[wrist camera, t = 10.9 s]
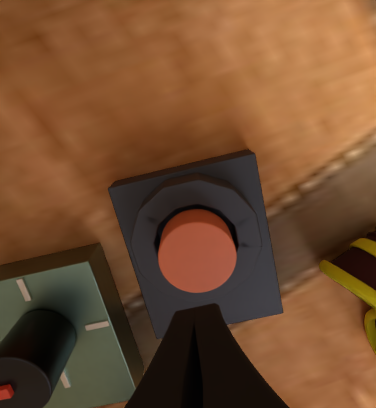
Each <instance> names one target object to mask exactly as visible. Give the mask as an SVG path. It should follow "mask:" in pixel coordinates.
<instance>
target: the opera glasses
mask: <svg viewBox="0 0 376 408" xmlns="http://www.w3.org/2000/svg"><path fill="white" fill-rule="evenodd" d="M375 228H376V227H375ZM349 248H350V249H349V250H348V251H346V252H345V253H343V254H342V255H341V256H339V257H338V258H336V259H335V260H333V261H332V262H328V261H326V260H323V261H321V262H320V263H319V268H320V270H321V271H322V272H323V273H324V274H326V275H327V276H328V277H330V278H331V279H333V280H334V281H336V282H337V283H339V284H340V285H342V286H344V287H345V288H346V289H348V290H349V291H351V292H352V293H353V294H355V295H356V296H357V297H359V298H360V299H362V300H363V301H364V302H366V303H367V304H368V305H370V306H371V307H372V308H373V309H370V310H369V311H368V312H367V313H366V315H365V318H364V327H365V331H366V334H367V338H368V340H369V343H370V345H371V347H372V349H373V351H374V352H375V354H376V232H369V233H368V234H367V238H359V239H358V240H356V241H355V242H353V243H352V244H350V245H349Z"/></svg>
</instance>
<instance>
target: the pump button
mask: <svg viewBox="0 0 376 408" xmlns="http://www.w3.org/2000/svg"><path fill="white" fill-rule="evenodd" d="M236 260H237V253H236V248H235V245H234V242H233V239H232V236H231V233H230V231H229V228H228V226H227V225H226V223H225V222H224V221H223V220H222V219H221V218H220V217H219V216H218V215H216V214H215V213H213V212H210V211H208V210H203V209H190V210H185V211H183V212H180V213H178V214H177V215H175V216H174V217H172V218H171V219H170V220H169V221H168V223H167V224H166V226H165V227H164V229H163V232H162V236H161V241H160V246H159V251H158V263H159V267H160V270H161V272H162V274H163V275H164V277H165V278H166V279H167V280H168V281H169V282H170V283H171V284H172V285H173V286H175V287H177V288H178V289H181V290H183V291H186V292H192V293H202V292H207V291H211V290H213V289H216V288H217V287H219V286H221V285H222V284H223V283H224V282H226V281H227V279H228V278H229V277H230V276H231V274H232V272H233V270H234V268H235V265H236Z"/></svg>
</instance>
